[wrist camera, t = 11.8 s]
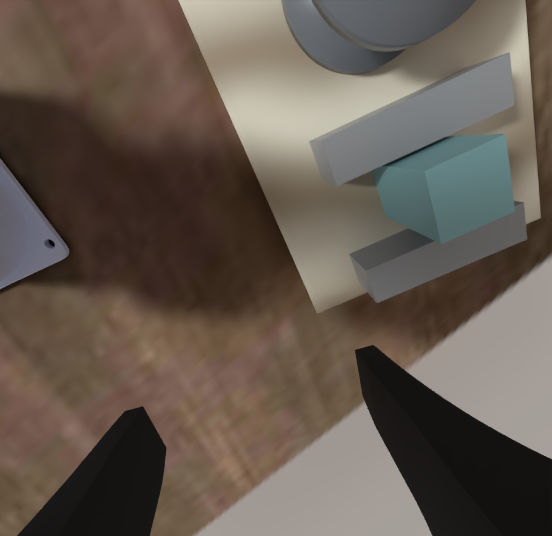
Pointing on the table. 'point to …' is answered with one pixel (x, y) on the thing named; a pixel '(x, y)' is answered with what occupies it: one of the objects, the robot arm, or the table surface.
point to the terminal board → (347, 121)
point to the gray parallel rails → (403, 140)
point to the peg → (448, 186)
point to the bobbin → (366, 29)
